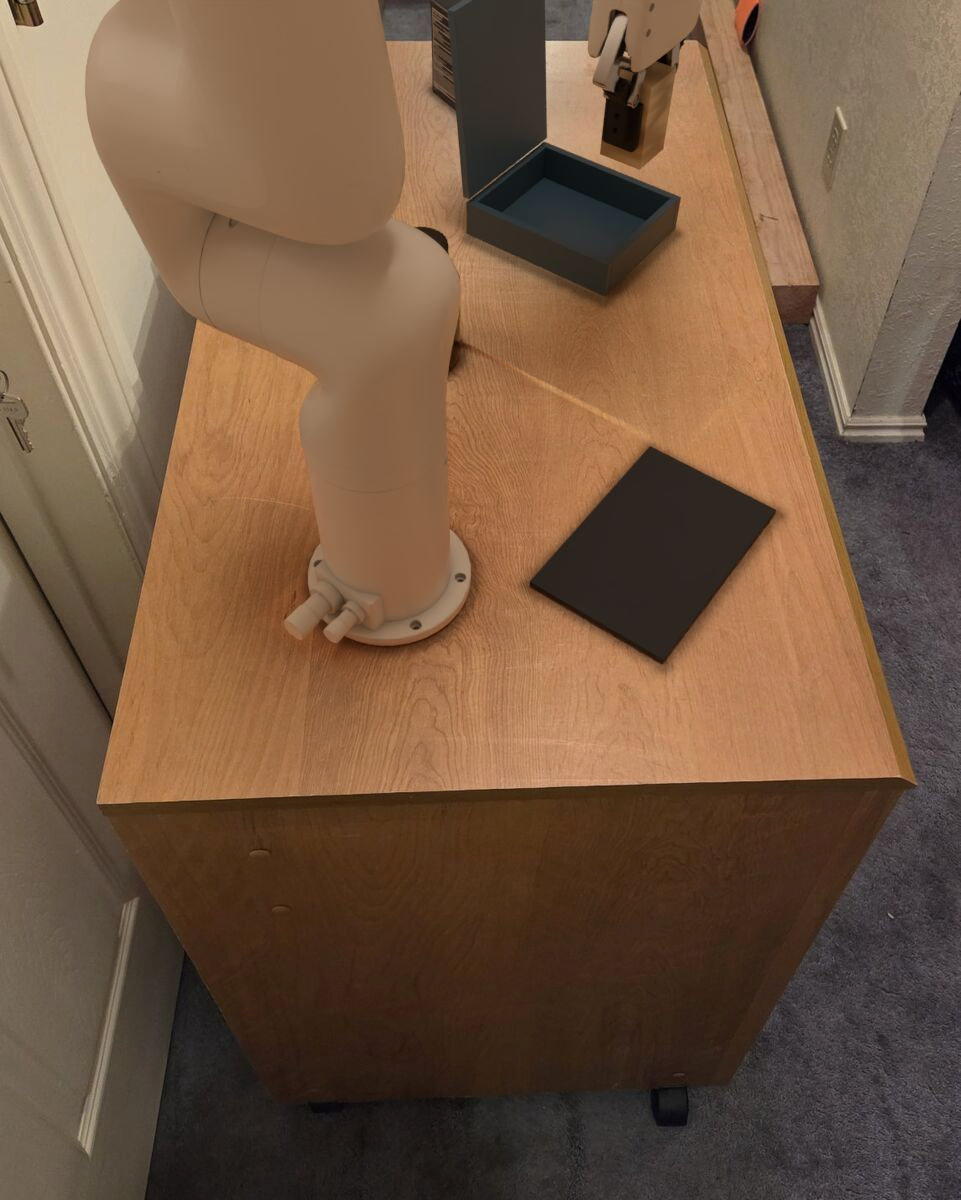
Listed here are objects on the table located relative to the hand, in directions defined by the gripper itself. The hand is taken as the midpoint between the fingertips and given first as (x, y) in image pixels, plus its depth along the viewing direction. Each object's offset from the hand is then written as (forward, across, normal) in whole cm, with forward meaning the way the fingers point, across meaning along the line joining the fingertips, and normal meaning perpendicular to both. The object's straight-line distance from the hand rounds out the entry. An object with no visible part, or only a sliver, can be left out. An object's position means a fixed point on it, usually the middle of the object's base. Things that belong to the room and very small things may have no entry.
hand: (634, 131), depth 88 cm
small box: (+17, -21, -31) cm, 41 cm away
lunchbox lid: (+3, -5, -17) cm, 18 cm away
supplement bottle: (+17, +17, -10) cm, 26 cm away
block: (+2, 0, 0) cm, 2 cm away
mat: (+17, +25, +19) cm, 36 cm away
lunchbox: (+17, -6, -8) cm, 20 cm away
